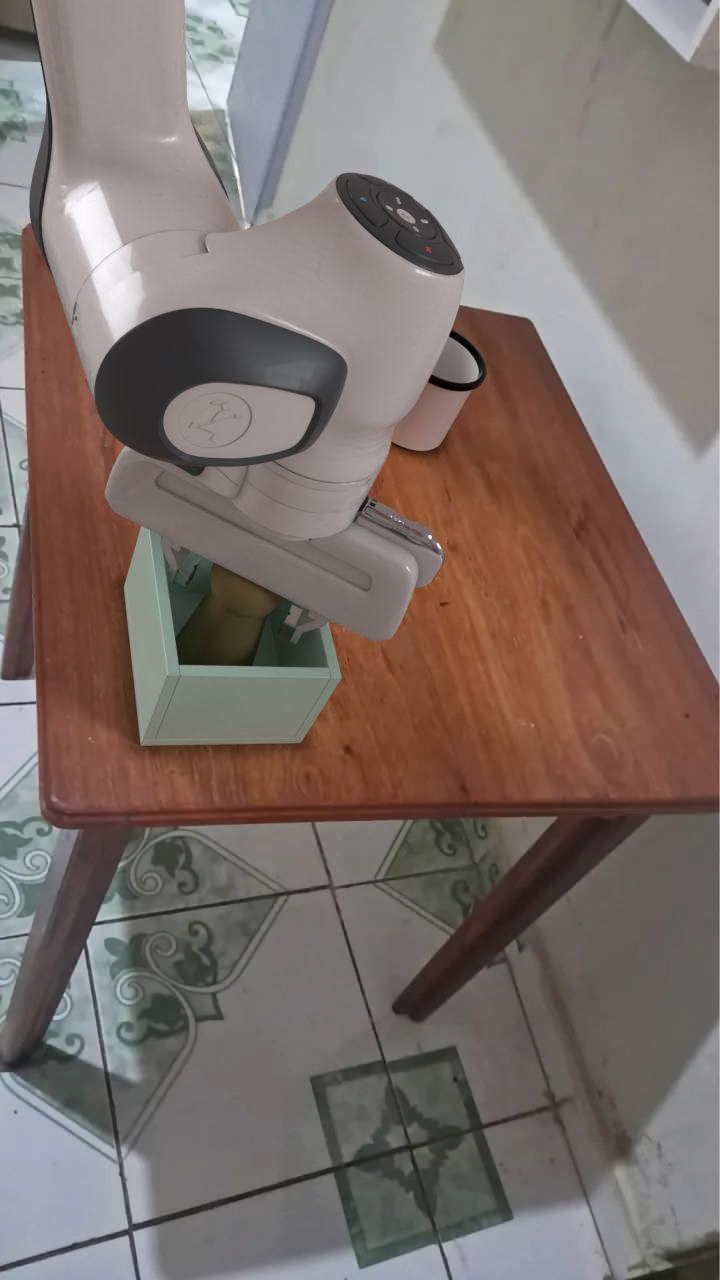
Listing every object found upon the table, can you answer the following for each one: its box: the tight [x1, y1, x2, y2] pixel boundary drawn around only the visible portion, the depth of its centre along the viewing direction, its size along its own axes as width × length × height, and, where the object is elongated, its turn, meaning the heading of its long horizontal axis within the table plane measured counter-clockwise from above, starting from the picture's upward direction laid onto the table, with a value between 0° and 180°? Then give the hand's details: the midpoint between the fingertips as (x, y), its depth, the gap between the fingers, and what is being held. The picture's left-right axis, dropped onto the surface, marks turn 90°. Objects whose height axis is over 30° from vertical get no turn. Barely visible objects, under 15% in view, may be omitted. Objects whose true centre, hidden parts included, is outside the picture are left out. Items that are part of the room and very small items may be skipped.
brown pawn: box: [175, 563, 284, 666], centre depth 66 cm, size 6×6×11 cm
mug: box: [391, 328, 488, 452], centre depth 94 cm, size 12×10×9 cm
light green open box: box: [123, 526, 343, 747], centre depth 67 cm, size 14×12×9 cm
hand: (235, 606), depth 65 cm, fingers open, 7 cm apart
